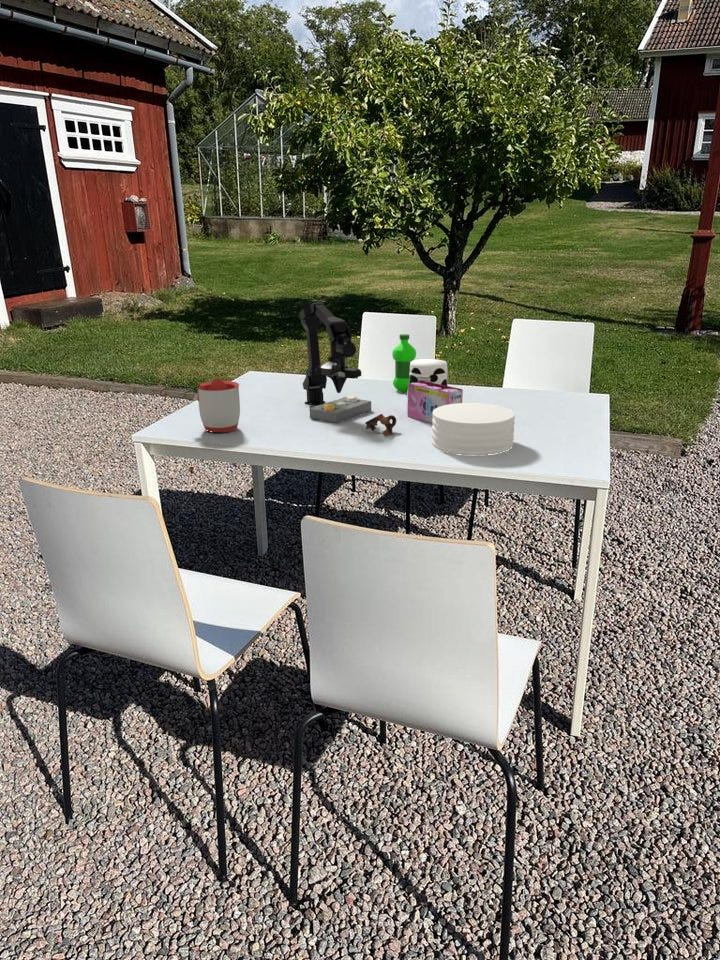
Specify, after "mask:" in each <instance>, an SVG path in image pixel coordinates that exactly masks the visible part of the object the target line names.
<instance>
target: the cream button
mask: <svg viewBox="0 0 720 960" xmlns="http://www.w3.org/2000/svg"><path fill="white" fill-rule="evenodd" d="M346 397H347V402H350V403H355V402H357V399H358V396H354V395H351V396H350V395H349V396H346Z"/></svg>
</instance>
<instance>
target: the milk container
mask: <svg viewBox="0 0 720 960" xmlns="http://www.w3.org/2000/svg"><path fill="white" fill-rule="evenodd" d="M409 375H410V382H409V383H410V384H411V383H417V382H418V381H419V380H423V381H427V382H432V383H436V384H441V385H445V386H449V385H448V363H447V361H446V360H442V359H434V358H424V359H423V358H422V359H421V358H420V359H414V360H413V361H411V362H410V373H409ZM406 395H407V399H408V391H407V392H406Z"/></svg>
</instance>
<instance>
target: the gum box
mask: <svg viewBox="0 0 720 960" xmlns="http://www.w3.org/2000/svg"><path fill="white" fill-rule="evenodd" d="M463 391H464V389H462V388H459V387H455V386H449V385H448V386H445V385H441V384H436V383H432V382H427V381H423V380H419V381H418V382H417V383H411V384H410V383H409V382H408V398H407V413H406V415H407V417H409V418H413V419H415V420H420V421H423V422H426V421H427V423H431V424H432V419H433V416H432V414H433V410H434V409H436V408H438V407H440V406H444V405H449V404H457V403H463V393H464V392H463Z"/></svg>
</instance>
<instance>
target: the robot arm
mask: <svg viewBox="0 0 720 960" xmlns="http://www.w3.org/2000/svg"><path fill="white" fill-rule="evenodd" d="M298 316H299V319H300V323H301V326H302V327H303V329H304V330H305V333H306V335H305V337H306V345H307V346H306V347H307V355H308V356H307V358H308V367H307V369H306V371H305V377H304V380H303V382H302V388H303V390H306V401H304V404H306V403H307V405H313V406H319V405H322V404H325V403H326V401H325V400H324V392H323V389H327V382H328V378H329V379H330V380H331V381H332V383H333V385H334V388H335V390H336V393H337V394H341V392H342V391H343V387H344V385H345V383H346V381H347V379H356V378H360V377H362V370H361V369H360V368H355V367H351V368H348V365H346V359H348V358H352V357H354V356H355V354H356V352H357V347H356V344H355V343H354V342H352V333H351V331H350V328H349V326H348V323H347V322H346V321H345V320H344V319H343V318H339V317H336V316H335V315H334V314H333V313H332V312H331V311H330V310H329V309H328V308H327V307H326V305H325V303H324V302H313V303H311V304H310V305H308V306H305V307H303V308H302V309H301V310H300V312H299V314H298ZM321 323H323V324H324V325H325V331H326V332H327V335H328V341H329V343H330V345H329V347H330V356H328V357H327V362H325V363H324V364H321V358H320V357H321V356H320V344H319V334H318V333H319V332H318V329H319V327H320V325H321Z"/></svg>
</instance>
